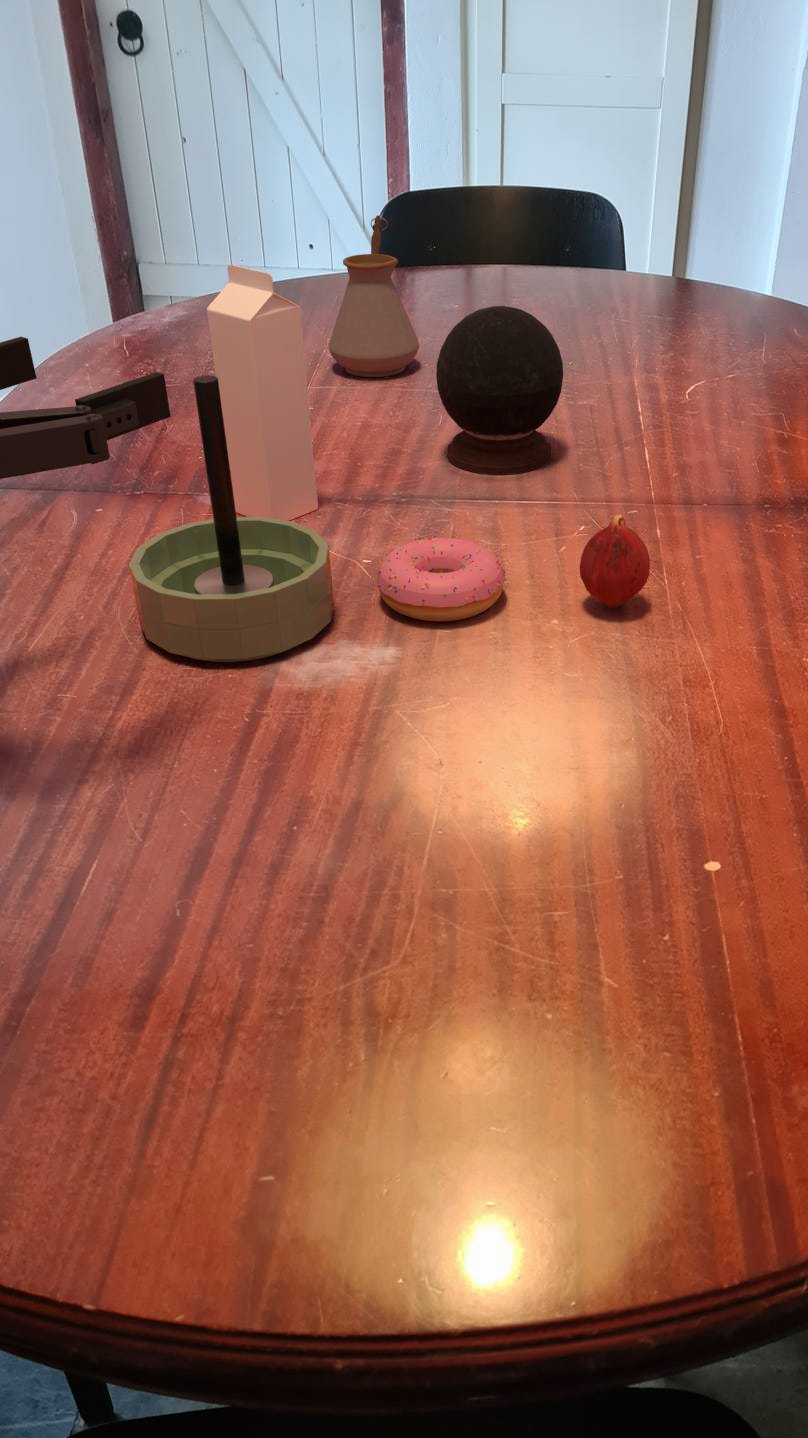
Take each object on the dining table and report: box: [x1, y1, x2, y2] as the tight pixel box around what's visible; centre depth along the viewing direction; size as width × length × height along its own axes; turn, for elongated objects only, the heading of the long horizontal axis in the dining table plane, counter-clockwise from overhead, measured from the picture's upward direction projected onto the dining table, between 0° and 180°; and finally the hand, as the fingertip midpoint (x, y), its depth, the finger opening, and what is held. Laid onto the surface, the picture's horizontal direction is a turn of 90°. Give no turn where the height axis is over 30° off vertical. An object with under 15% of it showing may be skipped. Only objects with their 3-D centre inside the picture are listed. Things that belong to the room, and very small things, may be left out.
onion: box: [579, 514, 651, 609], centre depth 102 cm, size 6×6×8 cm
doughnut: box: [374, 535, 507, 622], centre depth 104 cm, size 11×11×4 cm
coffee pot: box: [328, 215, 420, 378], centre depth 157 cm, size 21×12×15 cm, turn 179°
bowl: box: [128, 516, 335, 663], centre depth 101 cm, size 16×16×6 cm
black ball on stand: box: [435, 305, 564, 476], centre depth 128 cm, size 13×13×15 cm
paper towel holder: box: [192, 374, 274, 595], centre depth 96 cm, size 6×6×19 cm
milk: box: [206, 264, 319, 521], centre depth 115 cm, size 6×6×22 cm
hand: (94, 375), depth 83 cm, fingers open, 13 cm apart
